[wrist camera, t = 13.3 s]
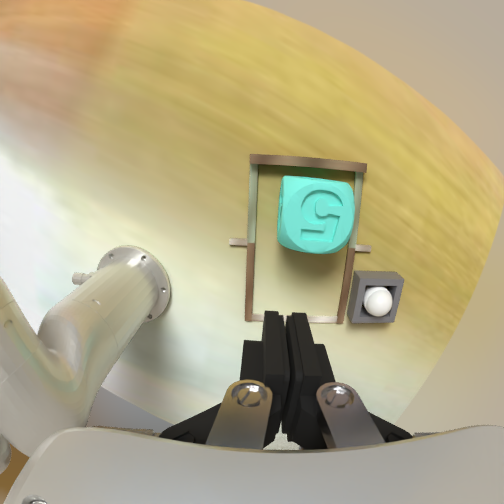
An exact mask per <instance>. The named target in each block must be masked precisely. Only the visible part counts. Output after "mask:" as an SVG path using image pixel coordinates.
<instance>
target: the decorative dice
mask: <svg viewBox="0 0 504 504" xmlns="http://www.w3.org/2000/svg"><path fill="white" fill-rule="evenodd" d="M354 214H355V202H354V194H353V191H352V188H351V187H350V185H349V184H348V183H346V182H340V181H334V180H327V179H320V178H311V177H300V176H284V177H283V178H282V181H281V188H280V196H279V208H278V224H277V239H278V242H279V243H280V244H281V245H283V246H284V247H286V248H289V249H292V250H296V251H300V252H306V253H314V254H329V253H335V252H337V251H339V250H340V249H342V248H343V247H344V246H345V245H346V244H347V243H348V241H349V239H350V236H351V233H352V229H353V224H354Z"/></svg>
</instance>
